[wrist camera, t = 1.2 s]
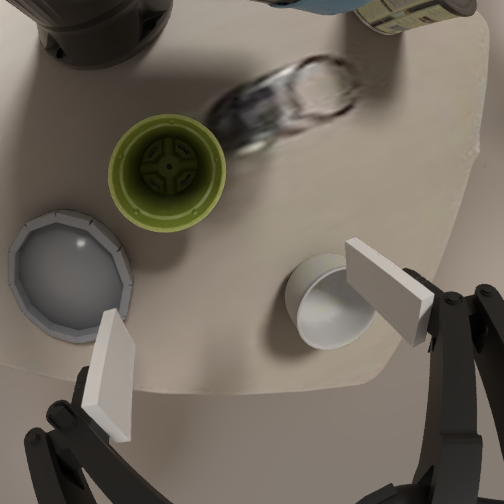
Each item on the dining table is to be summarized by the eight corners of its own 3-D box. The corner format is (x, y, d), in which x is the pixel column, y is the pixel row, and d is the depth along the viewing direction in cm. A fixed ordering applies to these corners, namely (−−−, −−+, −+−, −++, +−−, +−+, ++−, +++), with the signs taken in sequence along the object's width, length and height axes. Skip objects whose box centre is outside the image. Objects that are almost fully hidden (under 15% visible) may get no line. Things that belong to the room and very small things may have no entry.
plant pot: (107, 175, 28) (85, 188, 21) (163, 104, 27) (159, 90, 19) (175, 225, 32) (176, 254, 24) (230, 158, 31) (250, 164, 23)
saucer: (-1, 232, 26) (-10, 238, 24) (108, 192, 29) (103, 195, 27) (48, 340, 33) (43, 350, 31) (150, 317, 35) (149, 328, 33)
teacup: (288, 328, 41) (310, 365, 34) (263, 264, 37) (286, 296, 29) (371, 285, 42) (403, 312, 35) (359, 220, 38) (397, 240, 31)
